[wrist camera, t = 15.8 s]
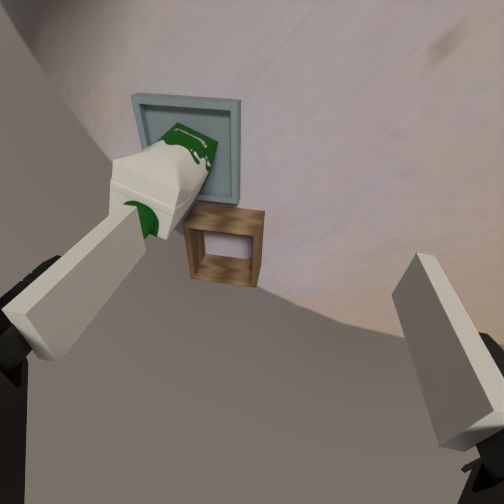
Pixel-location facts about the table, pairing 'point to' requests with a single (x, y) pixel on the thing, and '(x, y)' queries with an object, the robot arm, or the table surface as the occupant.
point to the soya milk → (163, 178)
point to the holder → (227, 222)
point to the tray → (205, 122)
